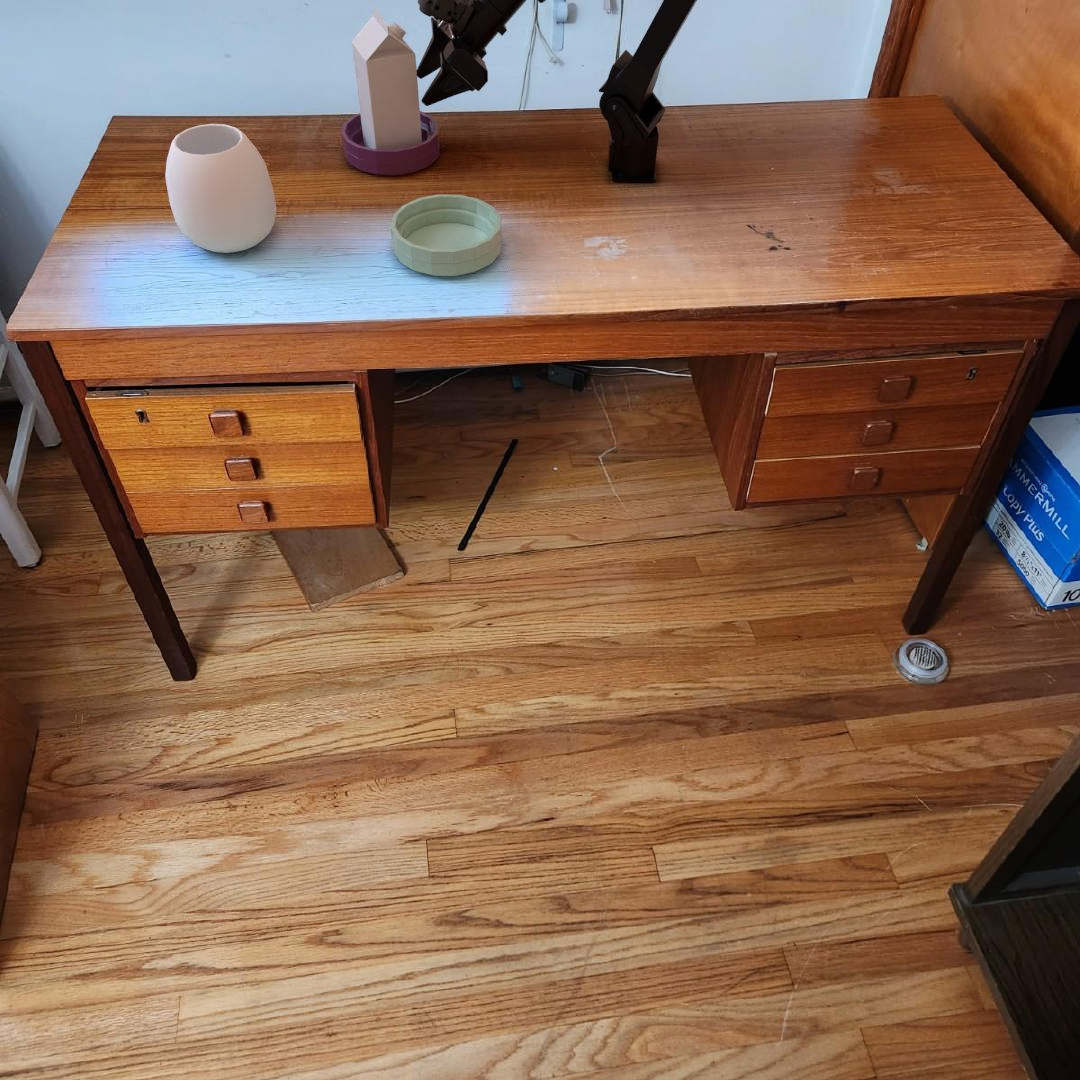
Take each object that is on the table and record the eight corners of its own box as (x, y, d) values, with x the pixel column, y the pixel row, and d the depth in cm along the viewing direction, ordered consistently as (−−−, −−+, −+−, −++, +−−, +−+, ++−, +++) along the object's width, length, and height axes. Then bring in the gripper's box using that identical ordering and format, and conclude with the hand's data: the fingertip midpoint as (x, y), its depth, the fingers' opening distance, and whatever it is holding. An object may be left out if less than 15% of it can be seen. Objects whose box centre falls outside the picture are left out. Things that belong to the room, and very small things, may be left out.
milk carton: (377, 166, 141) (362, 29, 127) (363, 145, 145) (347, 10, 131) (423, 158, 143) (413, 22, 129) (408, 137, 147) (397, 4, 133)
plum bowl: (443, 133, 149) (441, 108, 147) (436, 178, 140) (434, 152, 137) (351, 132, 149) (348, 106, 146) (339, 176, 140) (335, 150, 137)
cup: (254, 271, 123) (231, 171, 113) (162, 254, 125) (131, 155, 115) (298, 220, 132) (281, 123, 122) (211, 205, 134) (187, 109, 124)
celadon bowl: (502, 222, 132) (502, 195, 129) (499, 280, 123) (499, 252, 120) (399, 220, 132) (397, 193, 129) (388, 278, 123) (385, 250, 120)
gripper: (443, -65, 133) (372, 25, 139) (459, -17, 120) (381, 78, 127) (500, -5, 139) (430, 77, 146) (521, 45, 127) (443, 133, 134)
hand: (420, 89), depth 138 cm, fingers open, 9 cm apart
